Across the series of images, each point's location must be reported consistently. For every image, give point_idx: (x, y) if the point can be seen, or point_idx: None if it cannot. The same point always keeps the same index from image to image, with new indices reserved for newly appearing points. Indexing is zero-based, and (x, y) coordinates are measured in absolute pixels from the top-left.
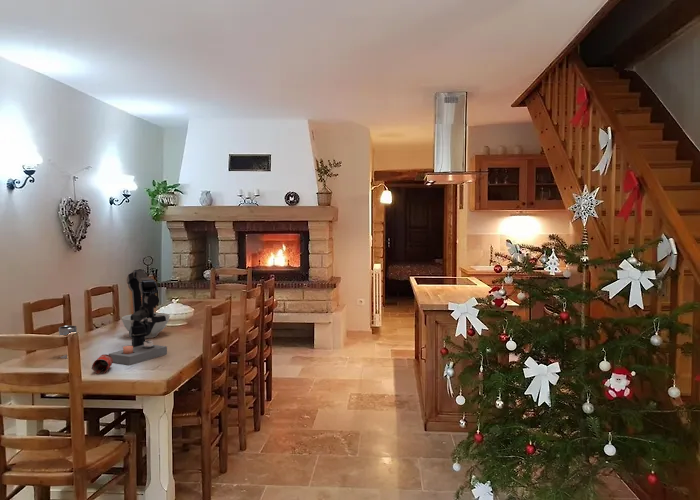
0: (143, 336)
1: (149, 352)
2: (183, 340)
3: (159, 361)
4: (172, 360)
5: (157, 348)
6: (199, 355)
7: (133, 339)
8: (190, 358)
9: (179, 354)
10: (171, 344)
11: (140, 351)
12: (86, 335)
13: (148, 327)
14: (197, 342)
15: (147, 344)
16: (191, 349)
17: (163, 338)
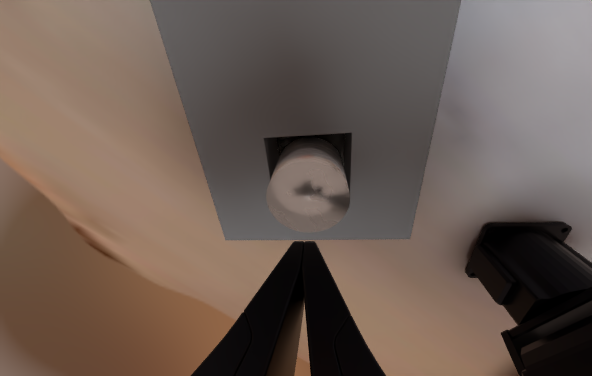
0: (522, 318)
1: (180, 76)
2: (381, 368)
3: (104, 66)
4: (83, 128)
5: (220, 178)
6: (109, 249)
7: (587, 271)
8: (74, 200)
9: (189, 230)
10: (379, 326)
11: (229, 18)
12: None
13: (225, 339)
14: (309, 361)
15: (283, 161)
16: (233, 299)
17: (487, 371)
